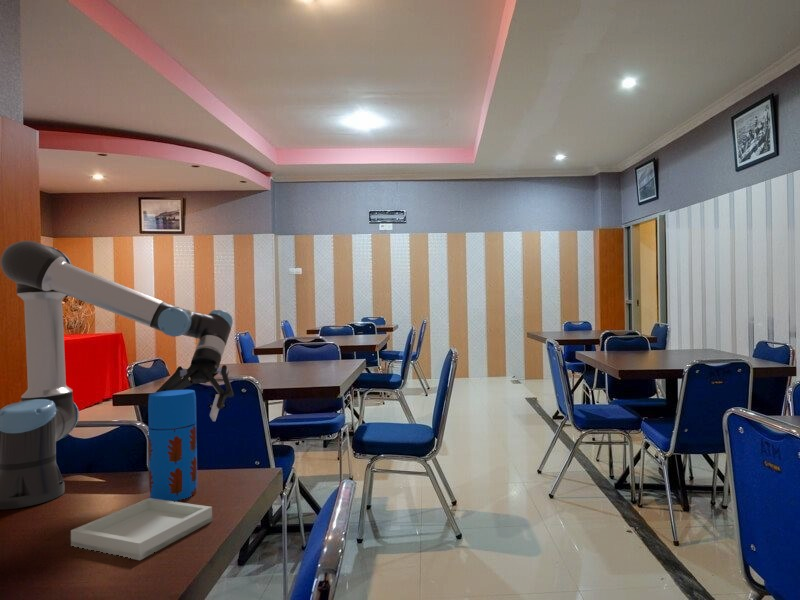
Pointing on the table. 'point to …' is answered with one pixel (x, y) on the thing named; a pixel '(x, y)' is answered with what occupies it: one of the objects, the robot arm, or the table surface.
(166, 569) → the table surface
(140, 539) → the tray
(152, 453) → the thermos
